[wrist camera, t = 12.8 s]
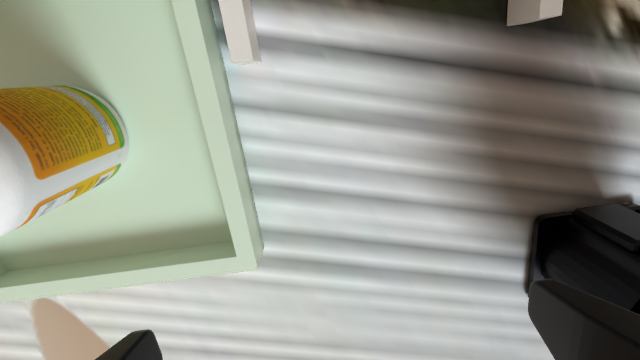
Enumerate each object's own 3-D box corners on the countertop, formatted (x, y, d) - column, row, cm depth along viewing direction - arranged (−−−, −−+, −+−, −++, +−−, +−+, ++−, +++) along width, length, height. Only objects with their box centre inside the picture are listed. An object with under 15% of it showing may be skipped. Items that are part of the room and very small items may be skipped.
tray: (264, 246, 20) (257, 269, 18) (8, 280, 21) (-31, 307, 18) (195, -66, 15) (173, -93, 13) (-150, -13, 15) (-234, -29, 13)
